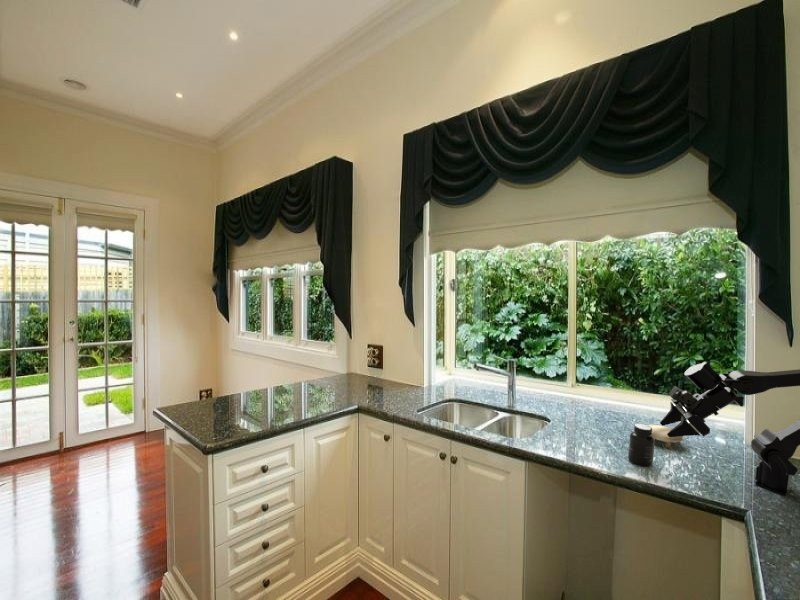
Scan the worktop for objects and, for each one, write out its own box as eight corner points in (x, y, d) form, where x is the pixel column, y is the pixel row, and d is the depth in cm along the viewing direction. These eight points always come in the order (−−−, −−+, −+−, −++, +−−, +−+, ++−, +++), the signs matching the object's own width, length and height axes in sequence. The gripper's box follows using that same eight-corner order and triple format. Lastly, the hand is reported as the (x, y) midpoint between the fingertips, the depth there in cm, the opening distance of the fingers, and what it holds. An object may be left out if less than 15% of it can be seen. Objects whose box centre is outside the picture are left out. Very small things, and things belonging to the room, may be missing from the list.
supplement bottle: (622, 458, 125) (625, 423, 124) (637, 455, 127) (640, 420, 126) (642, 469, 118) (645, 432, 117) (658, 465, 121) (661, 429, 120)
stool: (688, 443, 136) (688, 434, 136) (672, 451, 130) (673, 442, 130) (651, 431, 147) (652, 422, 146) (635, 438, 140) (636, 428, 140)
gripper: (681, 372, 124) (639, 399, 130) (700, 389, 107) (650, 419, 113) (708, 399, 122) (664, 426, 127) (732, 421, 105) (680, 451, 110)
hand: (664, 429), depth 120 cm, fingers open, 9 cm apart
